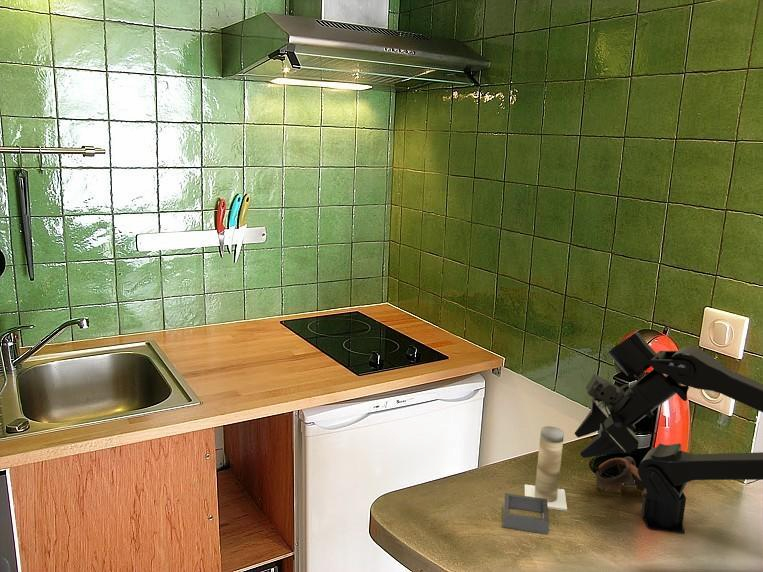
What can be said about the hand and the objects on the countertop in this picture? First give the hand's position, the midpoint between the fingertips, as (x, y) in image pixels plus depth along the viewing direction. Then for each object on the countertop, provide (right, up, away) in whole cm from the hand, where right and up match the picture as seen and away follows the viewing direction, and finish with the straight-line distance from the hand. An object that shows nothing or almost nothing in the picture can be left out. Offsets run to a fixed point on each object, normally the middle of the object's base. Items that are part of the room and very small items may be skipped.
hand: (578, 445), depth 120 cm
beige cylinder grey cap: (-5, -12, +5) cm, 14 cm away
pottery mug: (+12, -12, +9) cm, 19 cm away
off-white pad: (-5, -12, +5) cm, 14 cm away
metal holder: (-11, -13, -2) cm, 17 cm away
